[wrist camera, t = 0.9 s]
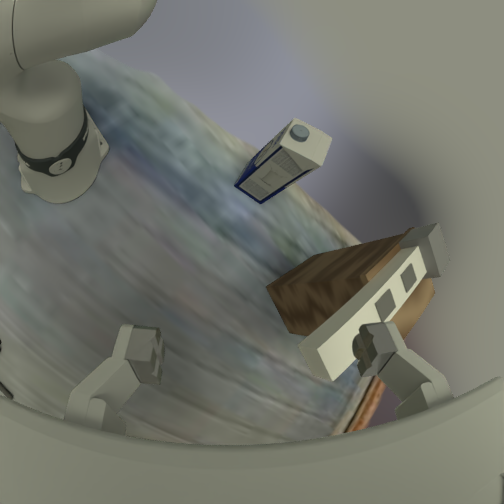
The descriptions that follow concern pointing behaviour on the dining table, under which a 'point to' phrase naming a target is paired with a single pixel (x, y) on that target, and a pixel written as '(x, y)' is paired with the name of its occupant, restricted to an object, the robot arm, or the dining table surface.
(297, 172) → the milk carton
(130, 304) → the dining table surface
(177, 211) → the dining table surface
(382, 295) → the power strip
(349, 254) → the stand
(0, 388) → the walkie-talkie
